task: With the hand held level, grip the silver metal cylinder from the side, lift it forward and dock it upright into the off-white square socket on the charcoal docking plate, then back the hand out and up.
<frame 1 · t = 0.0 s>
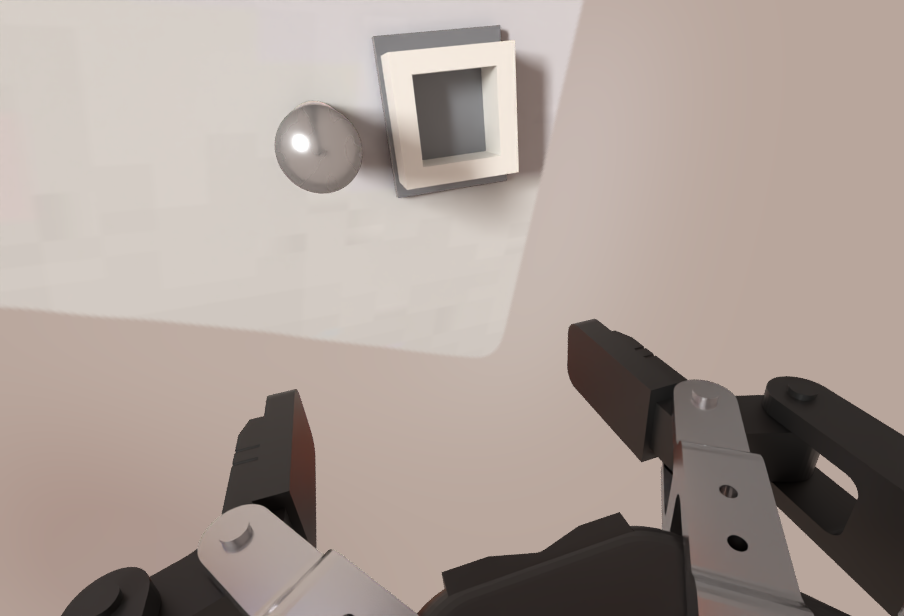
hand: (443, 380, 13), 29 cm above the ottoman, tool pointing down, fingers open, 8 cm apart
silver metal cylinder: (316, 131, 36), on the ottoman
dock: (443, 115, 38), on the ottoman
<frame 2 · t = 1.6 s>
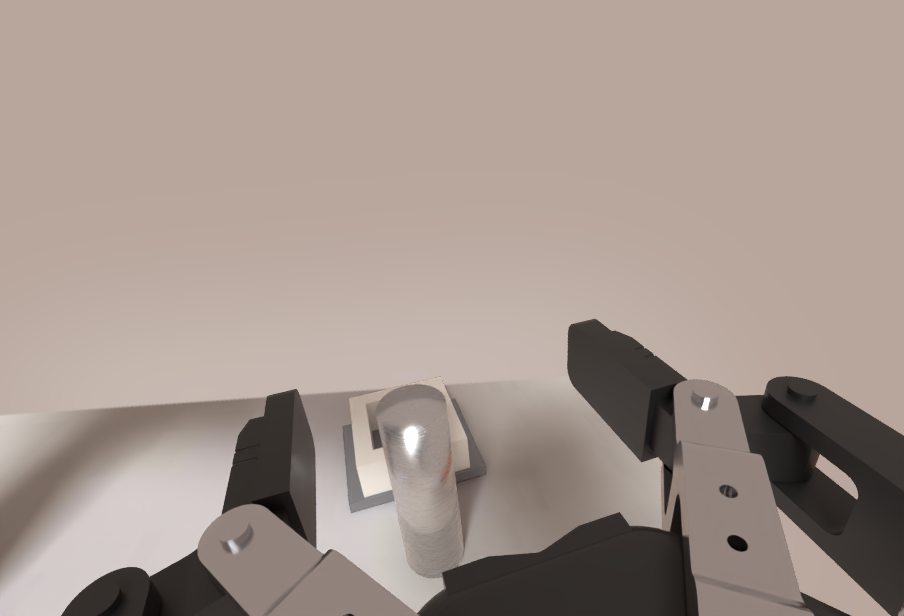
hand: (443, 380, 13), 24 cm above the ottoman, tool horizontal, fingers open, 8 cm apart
silver metal cylinder: (435, 549, 34), on the ottoman
dock: (410, 452, 43), on the ottoman
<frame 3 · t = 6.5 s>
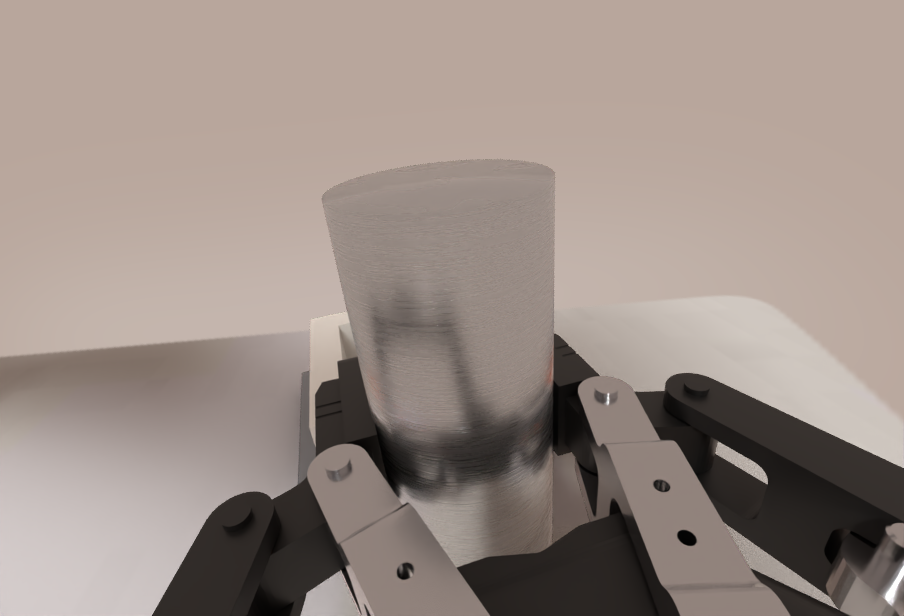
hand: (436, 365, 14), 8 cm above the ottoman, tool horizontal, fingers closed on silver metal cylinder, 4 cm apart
silver metal cylinder: (484, 606, 15), on the ottoman, touching gripper
dock: (419, 412, 24), on the ottoman
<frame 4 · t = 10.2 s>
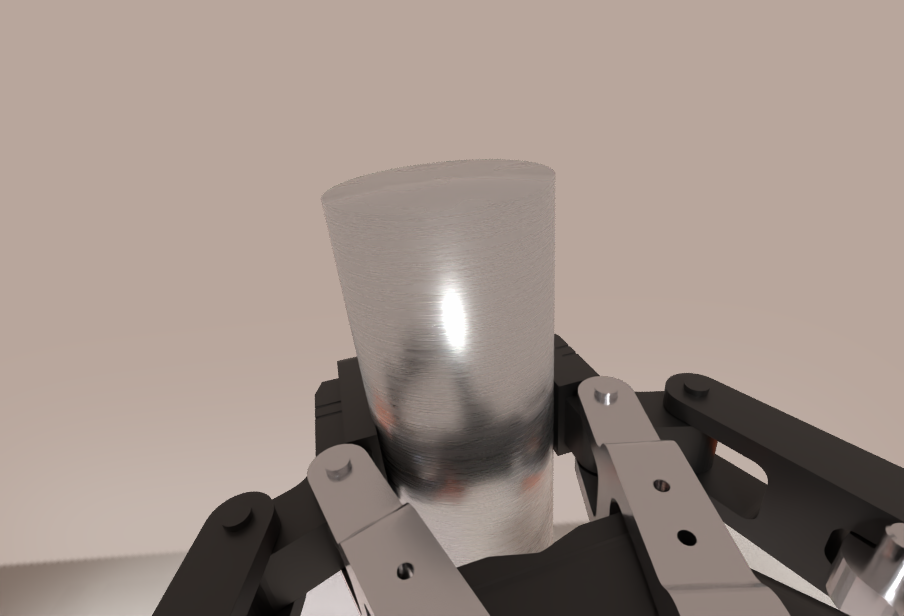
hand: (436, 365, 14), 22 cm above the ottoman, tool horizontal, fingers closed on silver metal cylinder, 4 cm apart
silver metal cylinder: (484, 607, 15), point 14 cm above the ottoman, touching gripper
when the fingers open (10 cm above the ottoman, at t = 13.8 s): silver metal cylinder stays where it is, resting on dock.
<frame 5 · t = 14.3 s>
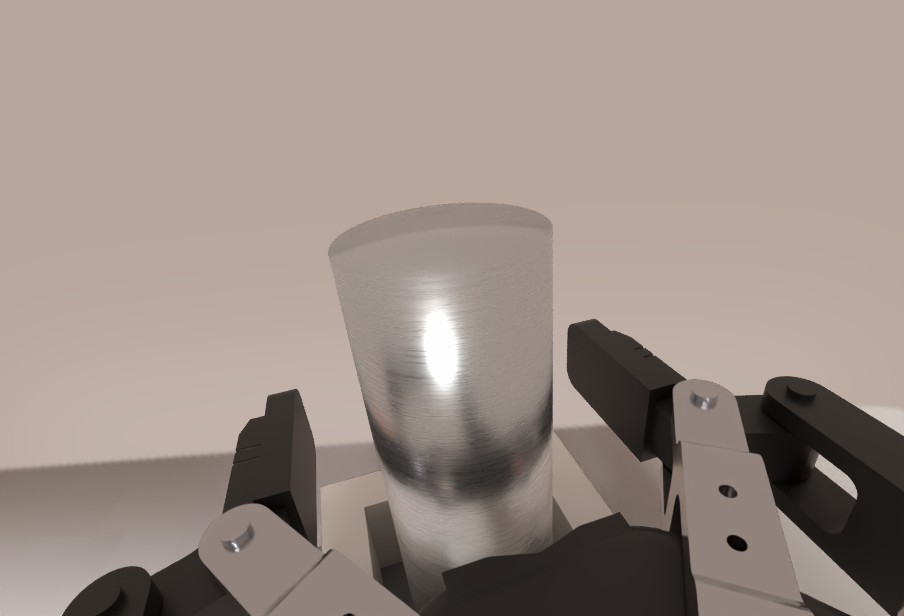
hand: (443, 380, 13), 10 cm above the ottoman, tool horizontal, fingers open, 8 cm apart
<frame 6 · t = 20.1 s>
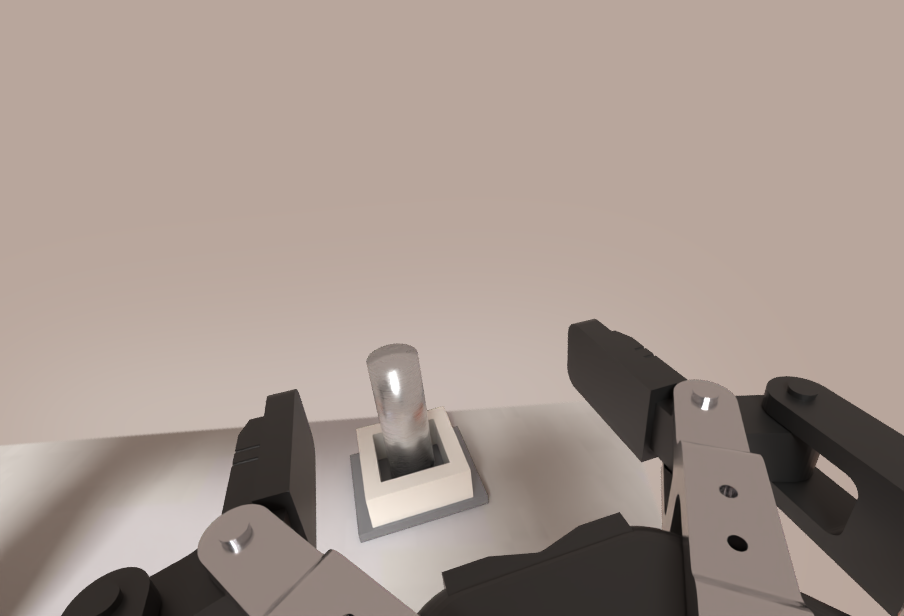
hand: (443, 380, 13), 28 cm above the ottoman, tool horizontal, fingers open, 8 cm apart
silver metal cylinder: (414, 474, 45), point 1 cm above the ottoman, touching dock
dock: (415, 481, 45), on the ottoman
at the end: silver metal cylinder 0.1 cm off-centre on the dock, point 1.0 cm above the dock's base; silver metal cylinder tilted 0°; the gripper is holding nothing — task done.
